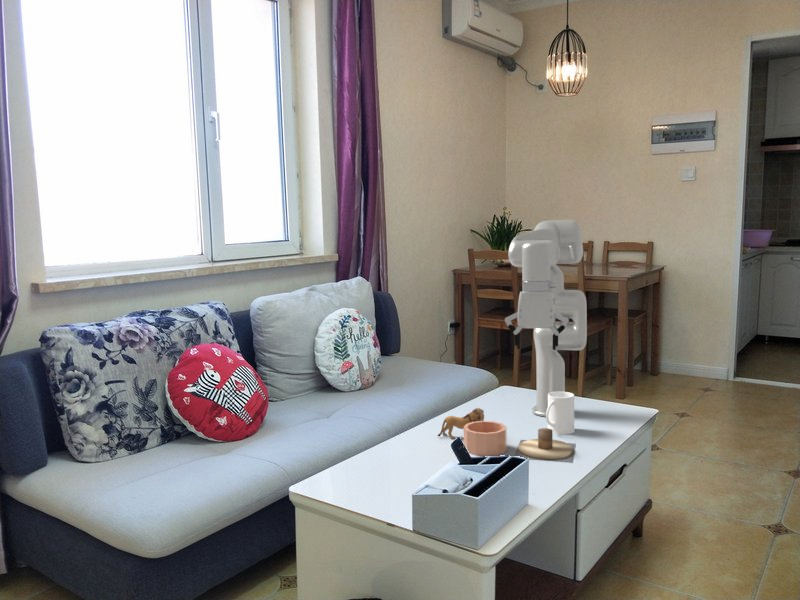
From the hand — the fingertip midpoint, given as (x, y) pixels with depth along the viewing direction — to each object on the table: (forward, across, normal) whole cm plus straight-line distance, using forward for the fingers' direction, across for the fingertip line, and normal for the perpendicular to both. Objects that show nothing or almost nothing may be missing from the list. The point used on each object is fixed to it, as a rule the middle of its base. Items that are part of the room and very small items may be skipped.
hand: (536, 348), depth 186 cm
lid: (+30, -2, -4) cm, 31 cm away
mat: (+31, -2, -4) cm, 31 cm away
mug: (+31, -5, -23) cm, 39 cm away
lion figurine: (+31, +24, -14) cm, 42 cm away
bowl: (+31, +15, -3) cm, 35 cm away
